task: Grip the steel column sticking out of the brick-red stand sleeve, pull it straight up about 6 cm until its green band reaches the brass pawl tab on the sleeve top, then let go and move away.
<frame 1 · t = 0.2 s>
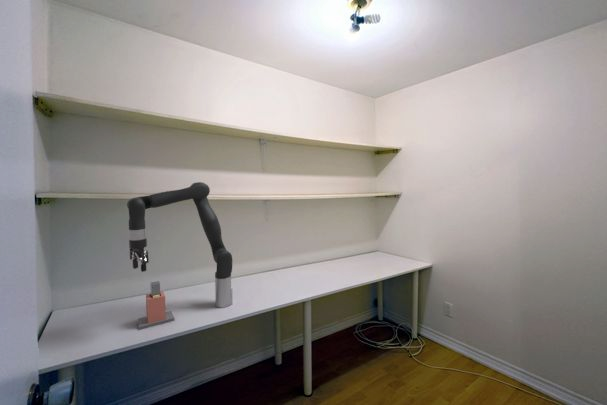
hand: (139, 269, 137), 29 cm above the table, tool pointing down, fingers open, 8 cm apart
steel column: (155, 300, 143), point 11 cm above the table, slide at 0.0 cm
stand sleeve: (156, 320, 143), on the table
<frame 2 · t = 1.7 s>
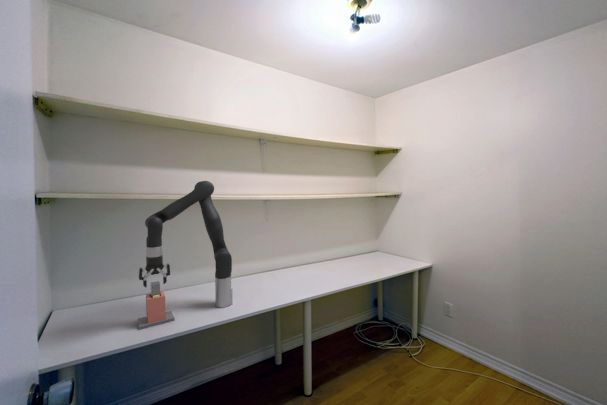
hand: (155, 285, 142), 19 cm above the table, tool pointing down, fingers open, 8 cm apart
nothing on the table moved.
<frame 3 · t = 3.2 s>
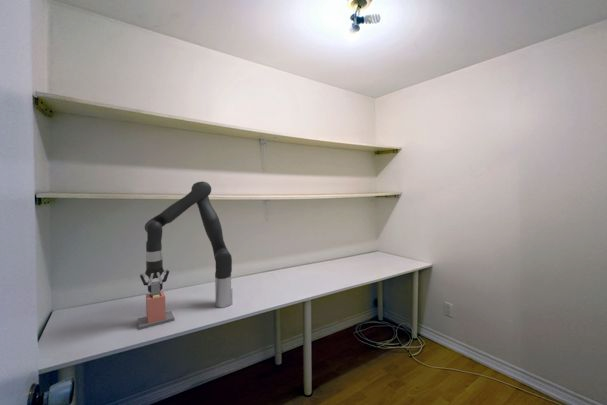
hand: (155, 291, 142), 16 cm above the table, tool pointing down, fingers closed on steel column, 4 cm apart
steel column: (155, 300, 143), point 11 cm above the table, slide at 0.0 cm, touching gripper
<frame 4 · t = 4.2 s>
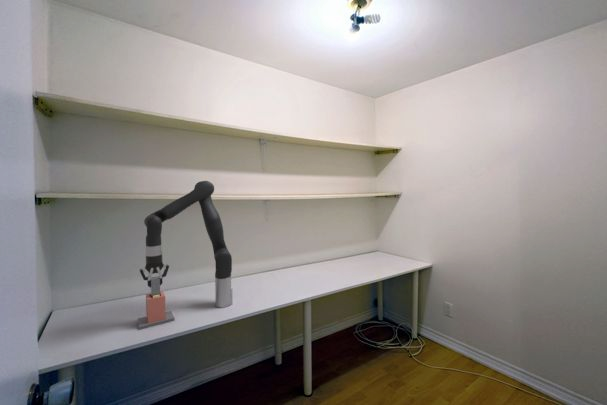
hand: (155, 285, 142), 19 cm above the table, tool pointing down, fingers closed on steel column, 4 cm apart
steel column: (155, 295, 142), point 14 cm above the table, slide at 2.7 cm, touching gripper
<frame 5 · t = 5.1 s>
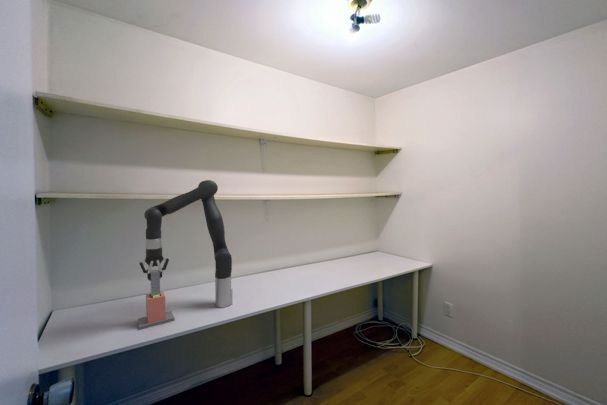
hand: (154, 279, 142), 23 cm above the table, tool pointing down, fingers closed on steel column, 4 cm apart
steel column: (155, 288, 142), point 18 cm above the table, slide at 6.4 cm, touching gripper
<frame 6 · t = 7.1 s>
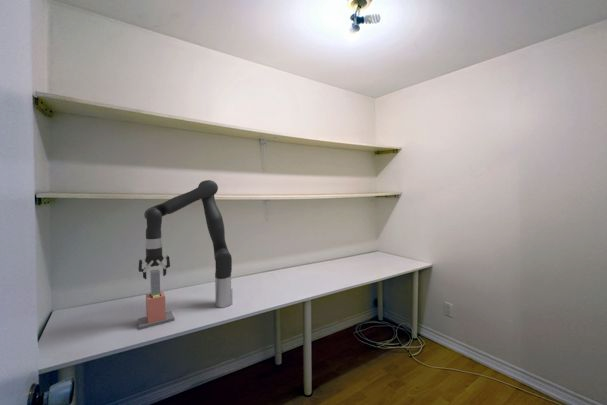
hand: (154, 277, 142), 24 cm above the table, tool pointing down, fingers open, 8 cm apart
steel column: (155, 288, 142), point 18 cm above the table, slide at 6.4 cm
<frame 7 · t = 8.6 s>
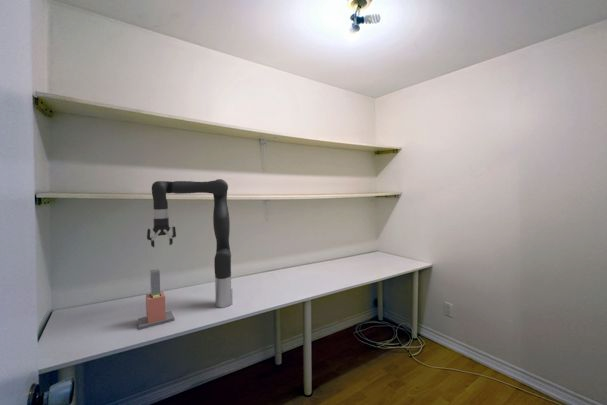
hand: (162, 245, 152), 37 cm above the table, tool pointing down, fingers open, 8 cm apart
nothing on the table moved.
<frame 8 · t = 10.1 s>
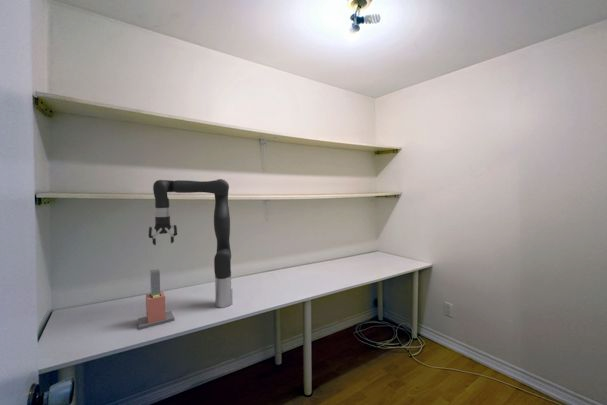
hand: (163, 244, 154), 38 cm above the table, tool pointing down, fingers open, 8 cm apart
nothing on the table moved.
at the end: steel column slide at 6.4 cm; the gripper is holding nothing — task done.
